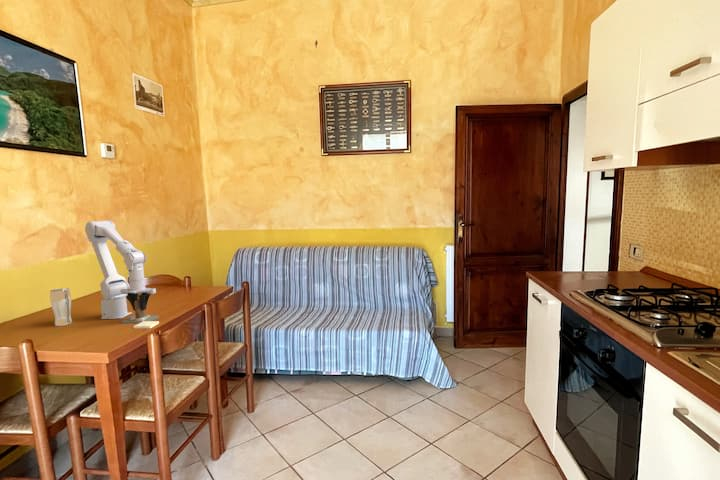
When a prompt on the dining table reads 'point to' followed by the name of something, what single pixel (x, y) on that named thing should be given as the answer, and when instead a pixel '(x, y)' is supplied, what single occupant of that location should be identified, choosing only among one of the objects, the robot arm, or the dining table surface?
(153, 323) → the tile
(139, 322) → the rest mat
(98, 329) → the dining table surface
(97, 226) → the robot arm
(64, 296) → the beer glass
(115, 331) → the dining table surface
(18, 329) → the dining table surface
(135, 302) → the grey upright block
